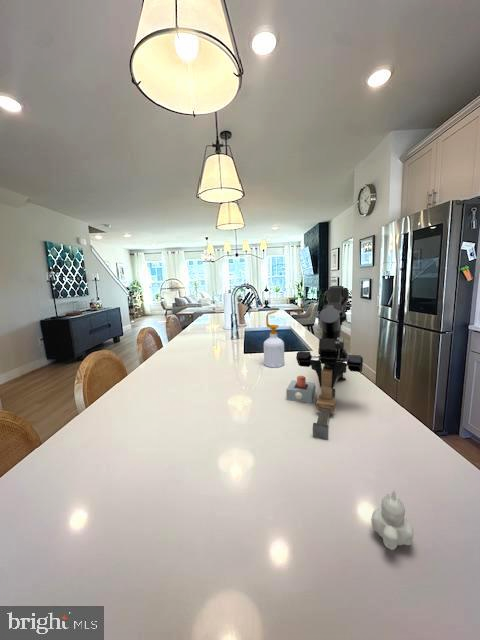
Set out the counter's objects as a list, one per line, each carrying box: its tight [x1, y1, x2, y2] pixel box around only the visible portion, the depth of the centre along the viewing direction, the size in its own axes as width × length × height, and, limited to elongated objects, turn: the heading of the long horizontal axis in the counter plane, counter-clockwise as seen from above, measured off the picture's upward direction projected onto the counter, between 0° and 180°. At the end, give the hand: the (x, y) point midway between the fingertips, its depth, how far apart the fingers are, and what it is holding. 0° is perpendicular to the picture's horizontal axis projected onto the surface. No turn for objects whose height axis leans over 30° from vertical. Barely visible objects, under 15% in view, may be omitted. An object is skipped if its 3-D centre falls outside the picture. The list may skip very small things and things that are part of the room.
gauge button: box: [296, 375, 307, 389], centre depth 88 cm, size 3×3×4 cm
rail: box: [312, 388, 336, 441], centre depth 76 cm, size 24×4×3 cm, turn 156°
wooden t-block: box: [315, 368, 337, 415], centre depth 77 cm, size 5×5×11 cm
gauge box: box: [285, 379, 316, 404], centre depth 88 cm, size 8×8×4 cm
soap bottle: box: [263, 309, 285, 368], centre depth 118 cm, size 9×9×25 cm
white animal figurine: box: [371, 489, 414, 551], centre depth 40 cm, size 5×7×8 cm
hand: (326, 387), depth 76 cm, fingers closed on wooden t-block, 3 cm apart
